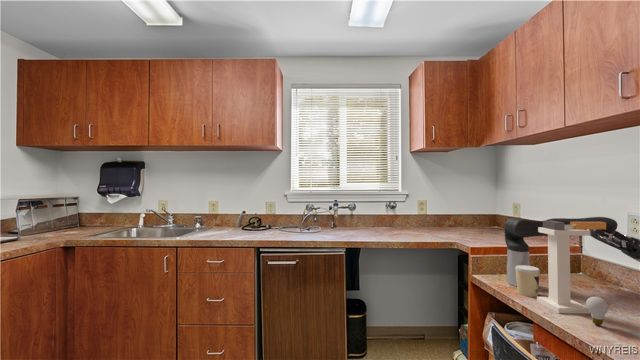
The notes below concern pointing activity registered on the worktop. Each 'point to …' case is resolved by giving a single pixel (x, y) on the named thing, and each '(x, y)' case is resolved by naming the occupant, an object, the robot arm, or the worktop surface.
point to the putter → (573, 225)
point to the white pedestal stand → (561, 271)
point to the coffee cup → (527, 280)
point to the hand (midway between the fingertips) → (604, 231)
